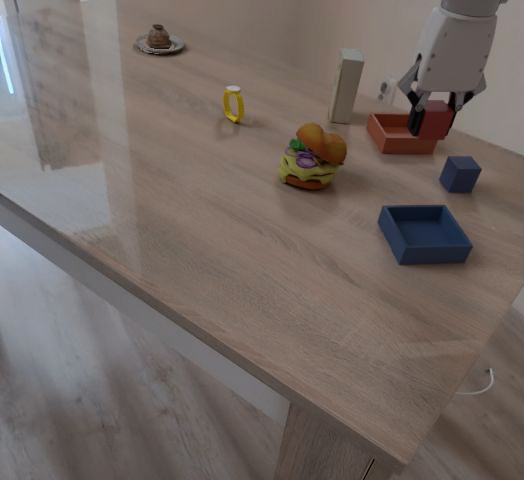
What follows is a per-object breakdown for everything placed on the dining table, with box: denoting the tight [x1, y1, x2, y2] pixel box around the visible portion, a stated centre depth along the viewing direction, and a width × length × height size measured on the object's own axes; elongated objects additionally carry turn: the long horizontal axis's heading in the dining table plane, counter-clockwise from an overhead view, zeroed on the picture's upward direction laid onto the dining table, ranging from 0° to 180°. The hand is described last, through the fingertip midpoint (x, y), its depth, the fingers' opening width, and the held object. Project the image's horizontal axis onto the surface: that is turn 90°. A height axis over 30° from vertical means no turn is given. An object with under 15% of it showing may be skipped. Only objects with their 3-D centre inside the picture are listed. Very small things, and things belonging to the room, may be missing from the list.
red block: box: [416, 99, 454, 141], centre depth 78 cm, size 4×4×4 cm
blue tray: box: [377, 204, 474, 266], centre depth 74 cm, size 11×11×3 cm
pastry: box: [134, 23, 185, 55], centre depth 117 cm, size 12×12×5 cm
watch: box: [222, 85, 245, 123], centre depth 94 cm, size 6×3×6 cm, turn 34°
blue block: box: [438, 155, 483, 194], centre depth 85 cm, size 4×4×4 cm
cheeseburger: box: [277, 121, 348, 190], centre depth 82 cm, size 10×11×10 cm
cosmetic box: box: [328, 46, 365, 125], centre depth 97 cm, size 6×4×12 cm
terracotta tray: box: [366, 112, 439, 155], centre depth 96 cm, size 11×11×3 cm
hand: (427, 131), depth 79 cm, fingers closed on red block, 4 cm apart
